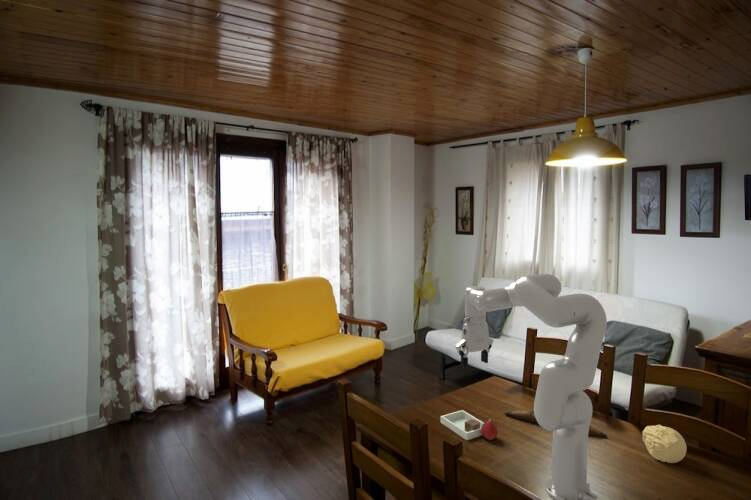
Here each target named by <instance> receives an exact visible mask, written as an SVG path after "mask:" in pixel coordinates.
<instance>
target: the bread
mask: <svg viewBox="0 0 751 500" xmlns="http://www.w3.org/2000/svg"><path fill="white" fill-rule="evenodd" d="M504 415H505V416H507V417H511V418H515V419H518V420H521V421H525V422H529V423H532V424H533V423H534V424H537V425H539V423H538V422H537V420H536V418H535V414H534V410H525V409H515V410H512V411H508V412H505V413H504ZM588 436H593V437H601V438H608V436H607V434H605V433H603V432H602V431H601V430H599V429H598V428H596V427H595V426H592V425H590V426H589V432H588Z"/></svg>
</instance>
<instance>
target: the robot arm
mask: <svg viewBox="0 0 751 500" xmlns="http://www.w3.org/2000/svg"><path fill="white" fill-rule="evenodd" d="M561 292H562V284H561V281H560V279H559V278H558V277H556V276H555V275H553V274H550V273H539V274H531V275H530V274H528V275H524V276H522V277H520V278H518V279H517V280H514V281H512V282H511V283H510V284H509V286H505V287H501V288H492V289H486V288H485V287H482V286H478V285H470V286H468V287H466V288H465V291H464V293H465V295H464V318H463V319H462V321H463V326H462V332H461V341H460V342H459V343H457V344H456V345H455V346H454V347H455V349H456V351H457V353H458V355H459V356H460V365H461V367H464V368H465V369H467V368H468V367H469V357H468V355H469V353H476V352H480V361H481V362H482V363H484V364H488V363H489V353H490V350H491V348H492V346H493V343H494V339H493V338H491V337H490V334H489V333H490V332H489V331H490V330H489V326H488V322H487V321H486V320H487V318H486V317H487V316H486V315H487V312H493V311H500V310H506V309H511V308H516V307H519V308H521V307H524V308H525V309H527V310H528V311H529V312H530V313H531V314H533V315H534V316H535V317H537V318H538V319H539V320H540V321H541V322H542V323H544V324H546V325H547V326H549V327H551V328H555V329H556V328H557V329H558V328H564V327H569V326H573V325H576V326H575V328H574V329H573V331H572V332H571V334H570V336H569V338H568V341H567V345H566V349H565V353H564V356H563V357H562V358H560V359H557V360H553V361H550V362H548V363H546V364H545V365H544V366H543V367H542V369H541V371H540V373H539V377H538V382H537V387H536V392H535V397H534V404H533V411H534V414H535V418H536V420H537V422H538V423H539V424H538V425H539V426H540V427H541V428H542V429H544V430H546V431H550V432H551V431H552V443H551V445H552V447H551V448H552V449H551V450H552V451H551V452H552V453H551V456H552V457H551V478H550V479H549V480H547V482H546V484H545V489H546V492H547V494H548V495H549V496H550V497H551V499H553V500H598V495H597V494H595V493H594V492H592V491H591V489H590V488H591V484H590V483H589V482H587V481H588V480H587V478H588V475H587V474H588V451H589V450H588V448H589V447H588V446H589V435H588V432H589V426H591V422H592V421H591V420H592V418H593V417H592V416H593V404H592V399H590V397H589V396H588V394H587V393H586V392H585V390H587V389H590V387H591V386H592V385H593V384H594V381H595V377H596V372H597V368H598V363H599V359H600V353H601V349H602V345H603V342H604V338H605V335H606V331H607V327H608V325H607V324H608V320H607V314H606V311H605V308H604V307H603V305H602V303H600V301H599V300H598V299H597V298H596V297H594V296H592V295H589V294H587V293H572V294H566V295H560V293H561ZM559 295H560V296H559Z"/></svg>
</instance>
